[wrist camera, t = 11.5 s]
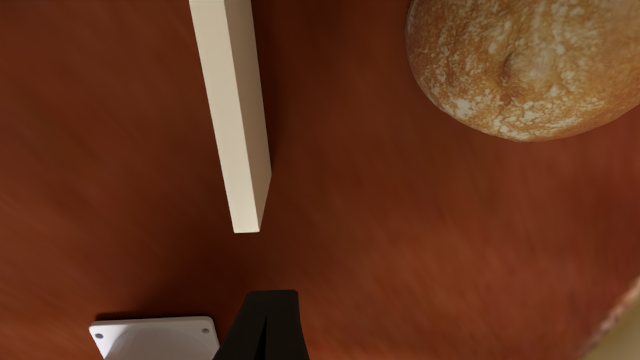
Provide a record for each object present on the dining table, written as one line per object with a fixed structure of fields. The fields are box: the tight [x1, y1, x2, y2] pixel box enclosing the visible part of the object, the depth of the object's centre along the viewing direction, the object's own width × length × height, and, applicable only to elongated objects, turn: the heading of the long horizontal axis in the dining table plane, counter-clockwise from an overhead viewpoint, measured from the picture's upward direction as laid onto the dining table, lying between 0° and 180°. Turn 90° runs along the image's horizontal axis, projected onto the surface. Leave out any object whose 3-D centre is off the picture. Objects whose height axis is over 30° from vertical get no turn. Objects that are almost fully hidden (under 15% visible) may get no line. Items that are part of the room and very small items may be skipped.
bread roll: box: [404, 0, 640, 143], centre depth 13 cm, size 10×10×8 cm
